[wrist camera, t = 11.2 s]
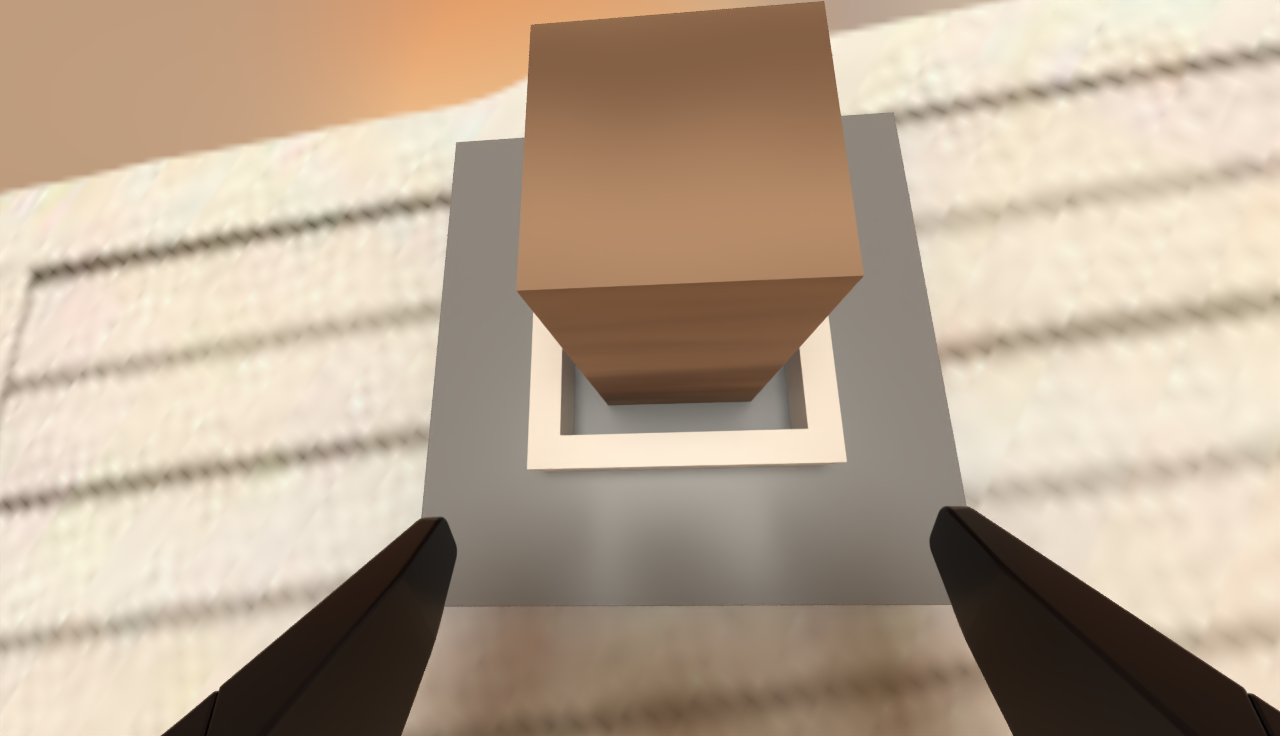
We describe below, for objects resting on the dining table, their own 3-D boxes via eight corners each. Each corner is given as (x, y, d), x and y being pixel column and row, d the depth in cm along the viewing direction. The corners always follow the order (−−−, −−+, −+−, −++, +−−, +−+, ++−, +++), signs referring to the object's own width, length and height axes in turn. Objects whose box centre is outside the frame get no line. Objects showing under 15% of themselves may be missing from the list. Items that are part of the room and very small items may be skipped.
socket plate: (961, 595, 15) (1033, 622, 12) (431, 598, 17) (375, 624, 13) (880, 134, 20) (918, 69, 17) (468, 161, 21) (432, 105, 18)
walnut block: (750, 401, 16) (863, 275, 7) (608, 405, 17) (516, 290, 7) (741, 269, 17) (823, 1, 8) (608, 275, 18) (531, 25, 8)
